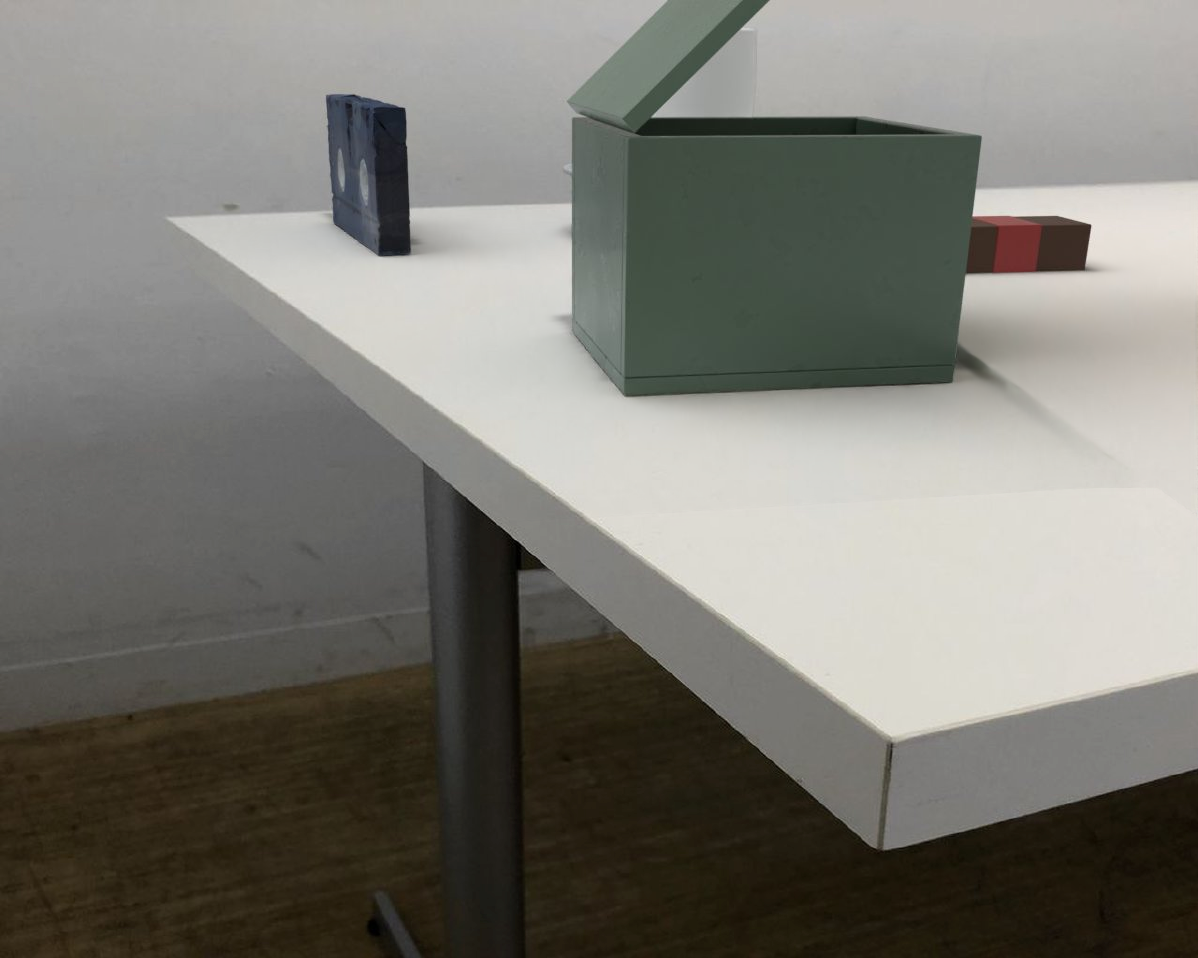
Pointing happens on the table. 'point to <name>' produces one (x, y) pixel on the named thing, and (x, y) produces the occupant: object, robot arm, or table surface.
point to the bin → (770, 251)
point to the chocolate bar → (1027, 244)
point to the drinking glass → (720, 83)
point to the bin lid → (660, 60)
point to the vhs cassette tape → (369, 171)
